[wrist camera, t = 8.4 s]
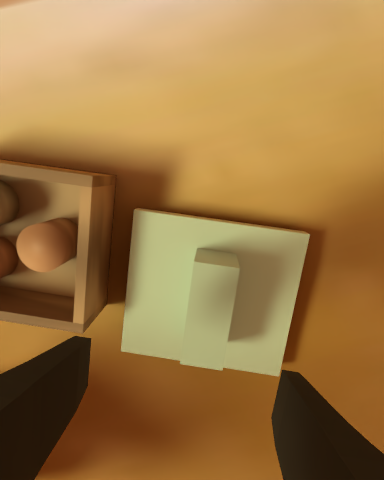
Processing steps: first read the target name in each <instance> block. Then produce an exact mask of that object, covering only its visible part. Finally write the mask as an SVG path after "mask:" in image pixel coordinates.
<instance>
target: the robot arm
mask: <svg viewBox="0 0 384 480" xmlns="http://www.w3.org/2000/svg"><path fill="white" fill-rule="evenodd" d="M90 346H91V338H85V337H79V336H74V337H72V338H70V339H68V340H66V341H64V342H62V343H61V344H59V345H57V346H55V347H53V348H52V349H50V350H48V351H46V352H44V353H42V354H40V355H38V356H37V357H35V358H33V359H31V360H29V361H27V362H25V363H23V364H21V365H19V366H17V367H15V368H13V369H10V370H8V371H6V372H4V373H2V374H0V480H34V479H35V477H36V476H37V474H38V472H39V471H40V469H41V467H42V466H43V464H44V462H45V461H46V459H47V458H48V456H49V454H50V453H51V451H52V450H53V448H54V446H55V445H56V443H57V441H58V440H59V438H60V437H61V435H62V433H63V432H64V430H65V429H66V427H67V425H68V424H69V422H70V420H71V419H72V417H73V415H74V414H75V412H76V410H77V408H78V406H79V404H80V402H81V399H82V397H83V395H84V393H85V390H86V388H87V386H88V373H89V360H90ZM272 425H273V434H274V441H275V447H276V451H277V455H278V459H279V463H280V467H281V471H282V475H283V479H284V480H384V454H383V453H382V452H381V451H380V450H378V449H377V448H376V447H375V446H374V445H372V444H371V443H370V442H369V441H368V440H367V439H365V438H364V437H363V436H362V435H361V434H360V433H359V432H358V431H357V430H356V429H355V428H353V427H352V426H351V425H350V424H349V423H348V422H347V421H346V420H345V419H344V418H343V417H342V416H341V415H340V414H339V413H338V412H337V411H336V410H335V409H334V408H333V407H332V406H331V405H330V404H329V403H328V402H327V401H326V400H325V399H324V398H323V397H322V396H321V395H320V394H319V393H318V391H317V390H316V389H315V388H314V387H313V386H312V385H311V384H310V383H309V382H308V381H307V380H306V379H305V378H304V377H303V376H302V375H301V374H300V373H298V372H292V371H286V370H282V373H281V377H280V382H279V386H278V391H277V395H276V400H275V404H274V408H273V413H272Z"/></svg>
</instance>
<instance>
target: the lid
mask: <svg viewBox="0 0 384 480" xmlns="http://www.w3.org/2000/svg"><path fill="white" fill-rule="evenodd" d="M309 237H310V234H308V233H307V232H305V231H298V230H291V229H284V228H277V227H270V226H263V225H256V224H249V223H241V222H234V221H227V220H220V219H213V218H206V217H199V216H192V215H185V214H178V213H170V212H163V211H156V210H149V209H142V208H137V209H134V214H133V225H132V236H131V247H130V258H129V268H128V279H127V290H126V301H125V312H124V323H123V334H122V345H121V351H122V352H129V353H135V354H141V355H148V356H154V357H160V358H166V359H173V360H179V361H180V364H184V365H190V366H196V367H203V368H209V369H215V370H221V371H222V370H223V368H229V369H235V370H241V371H248V372H254V373H260V374H267V375H273V376H279V374H280V370H281V365H282V361H283V356H284V351H285V347H286V342H287V338H288V333H289V329H290V324H291V319H292V315H293V310H294V306H295V301H296V296H297V292H298V287H299V283H300V278H301V274H302V269H303V264H304V260H305V255H306V251H307V246H308V241H309Z"/></svg>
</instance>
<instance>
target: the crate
mask: <svg viewBox="0 0 384 480" xmlns="http://www.w3.org/2000/svg"><path fill="white" fill-rule="evenodd" d="M115 188H116V175H110V174H103V173H96V172H88V171H81V170H74V169H67V168H59V167H52V166H45V165H38V164H31V163H23V162H16V161H9V160H2V159H0V320H1V321H7V322H13V323H20V324H26V325H32V326H38V327H45V328H51V329H57V330H63V331H70V332H76V333H82V334H83V333H84V332H85V330H86V329H87V328H88V327H89V325H90V324H91V323H92V322H93V321H94V319H95V318H96V317H97V316H98V315H99V313H100V312H101V311H102V310H103V308H104V307H105V306H106V302H107V290H108V277H109V264H110V251H111V239H112V226H113V213H114V200H115Z"/></svg>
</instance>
